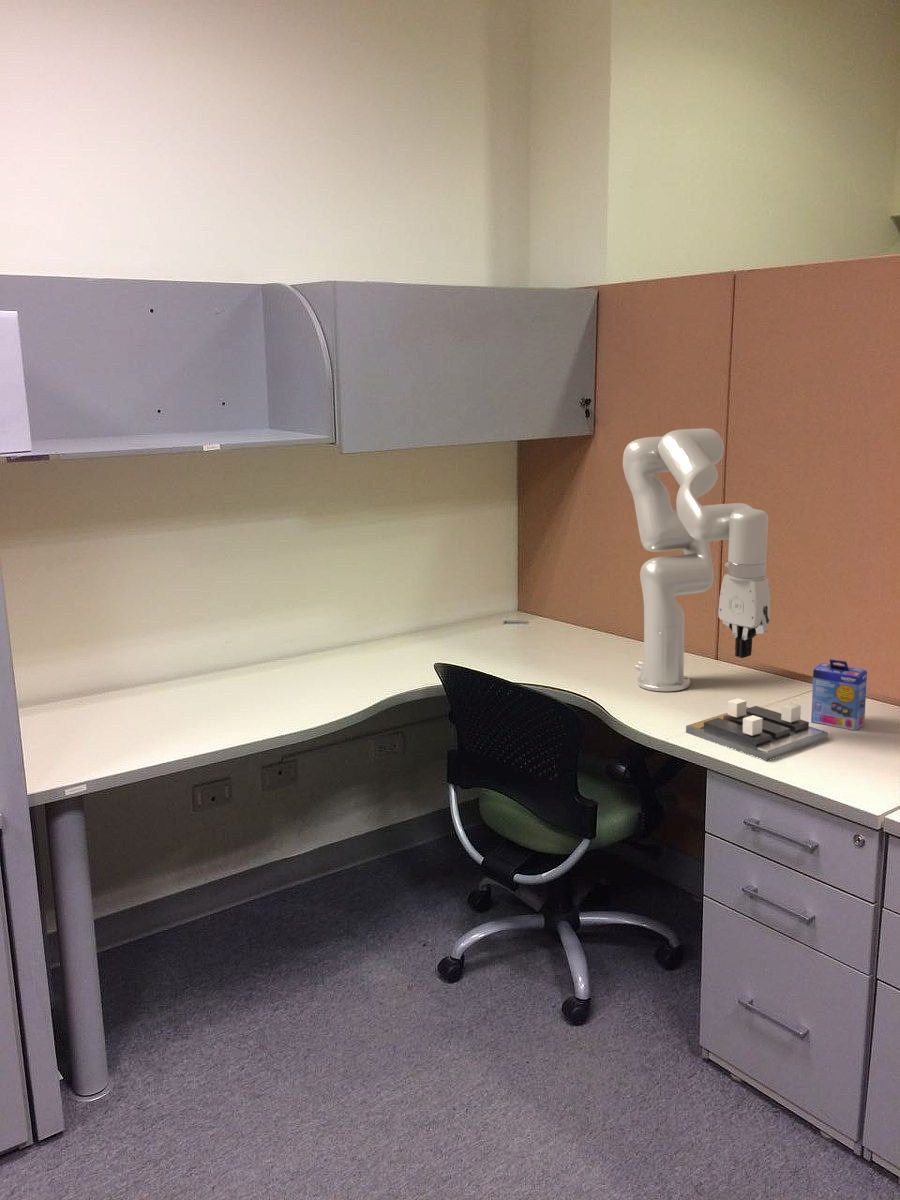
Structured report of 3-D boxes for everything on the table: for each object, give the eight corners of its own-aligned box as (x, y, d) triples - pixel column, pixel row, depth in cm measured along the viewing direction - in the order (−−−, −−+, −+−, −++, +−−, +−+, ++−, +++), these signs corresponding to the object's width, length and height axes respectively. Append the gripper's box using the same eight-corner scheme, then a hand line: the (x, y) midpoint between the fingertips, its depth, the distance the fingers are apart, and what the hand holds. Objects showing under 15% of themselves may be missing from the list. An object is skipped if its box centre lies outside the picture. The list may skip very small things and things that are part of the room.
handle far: (781, 719, 210) (781, 705, 209) (790, 716, 212) (791, 702, 211) (790, 722, 208) (791, 708, 207) (800, 719, 210) (800, 705, 209)
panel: (686, 732, 214) (686, 719, 213) (745, 713, 224) (746, 700, 224) (766, 761, 197) (767, 746, 196) (827, 739, 207) (828, 725, 206)
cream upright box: (742, 732, 204) (742, 718, 203) (752, 729, 205) (752, 715, 204) (752, 735, 202) (752, 721, 201) (762, 732, 203) (762, 718, 203)
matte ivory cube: (727, 714, 214) (727, 701, 213) (737, 711, 216) (737, 698, 215) (736, 717, 212) (736, 703, 211) (746, 714, 214) (746, 700, 213)
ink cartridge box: (809, 722, 217) (812, 658, 214) (818, 715, 221) (821, 651, 218) (856, 731, 211) (860, 665, 208) (865, 724, 215) (868, 658, 212)
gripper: (705, 567, 210) (703, 651, 214) (764, 579, 198) (760, 668, 202) (729, 561, 214) (726, 644, 218) (789, 573, 202) (784, 660, 206)
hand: (743, 655), depth 210 cm, fingers closed
